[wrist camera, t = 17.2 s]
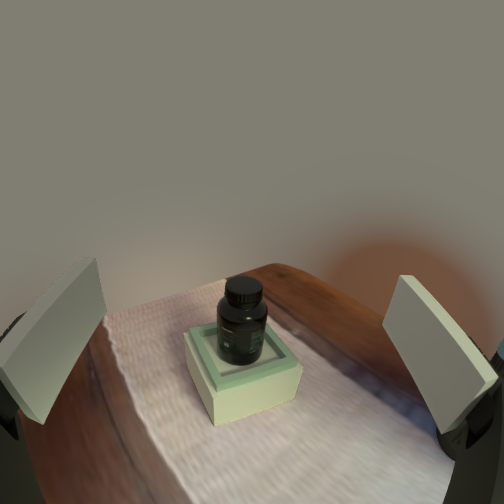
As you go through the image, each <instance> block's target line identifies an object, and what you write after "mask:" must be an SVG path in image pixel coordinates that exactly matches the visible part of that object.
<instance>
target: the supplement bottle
mask: <svg viewBox="0 0 504 504" xmlns="http://www.w3.org/2000/svg"><path fill="white" fill-rule="evenodd" d="M262 291H263V285H262V283H261V282H260V281H259V280H257V279H256V278H253V277H250V276H236V277H232V278H230V279H228V280H227V282H226V284H225V293H224V297H223V298H222V299H221V300H220V301H219V303H218V305H217V352H218V354H219V356H220V358H221V359H222V360H224V361H225V362H226V363H228V364H231V365H235V366H246V365H250V364H252V363H254V362H256V361H257V360H258V359H259V358H260V356H261V354H262V349H263V343H264V336H265V328H266V321H267V313H268V309H267V305H266V303H265V302H264V300H263V299H262V296H263V294H262Z"/></svg>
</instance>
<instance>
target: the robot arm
mask: <svg viewBox="0 0 504 504" xmlns="http://www.w3.org/2000/svg"><path fill="white" fill-rule="evenodd" d="M106 312H107V310H106V306H105V302H104V297H103V293H102V288H101V283H100V278H99V273H98V268H97V262H96V258H89V257H81V258H80V259H79V260H78V261H77V262H76V263H74V264H73V265H72V266H71V267H70V268H69V269H68V270H67V271H66V272H65V273H64V274H63V275H62V276H61V277H60V278H59V279H58V280H57V281H56V282H55V283H54V284H53V285H52V286H51V287H50V288H49V289H48V290H47V291H46V292H45V293H44V294H43V295H42V296H41V297H40V298H39V299H38V300H37V301H36V302H35V303H34V304H33V306H32V307H31V308H30V309H29V310H28V311H27V312H25V313H23V314H22V315H20V316H19V317H17V318H16V319H15V320H14V321H13V322H12V324H11V325H10V326H9V329H6V331H5V332H4V333H3V336H1V337H0V504H46V503H45V500H44V498H43V495H42V493H41V490H40V487H39V485H38V482H37V479H36V476H35V473H34V470H33V467H32V464H31V461H30V457H29V454H28V450H27V446H26V442H25V438H24V434H23V429H22V424H21V420H20V417H19V415H18V413H17V411H18V409H19V407H20V408H21V410H22V411H23V412H24V413H25V415H26V416H27V417H28V418H30V419H32V420H34V421H36V422H38V423H40V424H43V425H44V422H45V420H46V418H47V416H48V414H49V412H50V410H51V408H52V406H53V404H54V402H55V400H56V398H57V396H58V394H59V392H60V390H61V388H62V386H63V384H64V383H65V381H66V379H67V377H68V375H69V373H70V372H71V370H72V368H73V366H74V364H75V363H76V361H77V359H78V357H79V356H80V354H81V352H82V351H83V349H84V347H85V346H86V344H87V342H88V341H89V339H90V337H91V336H92V334H93V332H94V331H95V329H96V328H97V326H98V324H99V323H100V321H101V320H102V318H103V317H104V315H105V313H106ZM382 326H383V327H384V329H385V330H386V332H387V334H388V335H389V337H390V339H391V341H392V342H393V344H394V346H395V347H396V349H397V351H398V353H399V354H400V356H401V358H402V360H403V361H404V363H405V365H406V367H407V368H408V370H409V372H410V374H411V376H412V378H413V379H414V381H415V383H416V385H417V387H418V389H419V391H420V393H421V394H422V396H423V398H424V400H425V402H426V404H427V406H428V408H429V410H430V412H431V414H432V416H433V418H434V420H435V422H436V424H437V436H438V440H439V442H440V445H441V447H442V448H443V450H444V451H445V452H446V454H447V455H448V456H449V457H451V458H452V459H454V460H455V461H456V462H455V466H454V470H453V473H452V477H451V480H450V483H449V487H448V490H447V493H446V496H445V498H444V501H443V504H504V339H503V340H502V341H501V342H500V344H499V345H498V347H497V351H496V353H495V354H494V356H493V357H492V359H491V360H490V361H489V360H488V359H487V357H486V356H485V355H483V352H482V351H481V350H480V348H478V346H477V345H476V343H475V342H474V341H473V340H472V338H471V337H469V336H468V335H467V334H465V333H464V332H463V331H462V329H461V328H460V327H459V326H458V325H457V323H456V322H455V321H454V320H453V319H452V318H451V317H450V315H449V314H448V313H447V312H446V311H445V310H444V309H443V307H442V306H441V305H440V304H439V303H438V302H437V301H436V300H435V299H434V297H433V296H432V295H431V294H430V293H429V292H428V291H427V290H426V289H425V288H424V287H423V286H422V285H421V284H420V283H419V282H418V281H417V280H416V278H415V277H414V276H412V275H400V276H399V279H398V282H397V285H396V288H395V291H394V294H393V297H392V300H391V302H390V305H389V308H388V311H387V313H386V316H385V318H384V321H383V323H382Z"/></svg>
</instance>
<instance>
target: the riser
mask: <svg viewBox="0 0 504 504" xmlns="http://www.w3.org/2000/svg"><path fill="white" fill-rule="evenodd" d="M183 336H184V346H185V355H186V364H187V367H188V370H189V372H190V374H191V377H192V379H193V381H194V384H195V386H196V388H197V390H198V393H199V395H200V397H201V399H202V401H203V404H204V406H205V408H206V410H207V412H208V414H209V416H210V418H211V420H212V422H213V424H214V426H215V427H216V426H219V425H222V424H226V423H229V422H232V421H235V420H238V419H241V418H244V417H247V416H250V415H253V414H256V413H259V412H261V411H264V410H267V409H269V408H272V407H275V406H277V405H280V404H282V403H285V402H287V401H289V400H292V399H294V397H295V394H296V391H297V388H298V385H299V381H300V378H301V375H302V372H303V367H302V366H301V364H300V363H299V362H298V359H297V358H296V357H295V355H294V354H293V353H292V352H291V351H290V350H289V348H288V347H287V346H286V345H285V344H284V343H283V342H282V340H281V339H280V338H279V337H278V336H277V334H276V333H275V332H274V331H273V330H272V329H271V327H270V326H269V325H268V324H267V323H266V328H265V336H264V343H263V349H262V354H261V356H260V358H259V359H258V360H257V361H256V362H254V363H252V364H250V365H246V366H235V365H231V364H228V363H226V362H225V361H224V360H222V359H221V358H220V356H219V354H218V352H217V322H216V323H211V324H206V325H202V326H197V327H192V328H189V332H185V333H183Z"/></svg>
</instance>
